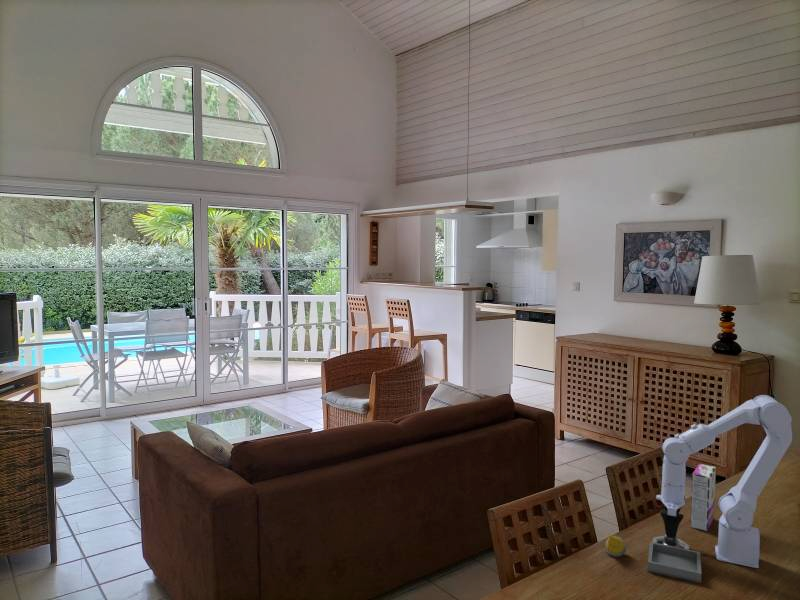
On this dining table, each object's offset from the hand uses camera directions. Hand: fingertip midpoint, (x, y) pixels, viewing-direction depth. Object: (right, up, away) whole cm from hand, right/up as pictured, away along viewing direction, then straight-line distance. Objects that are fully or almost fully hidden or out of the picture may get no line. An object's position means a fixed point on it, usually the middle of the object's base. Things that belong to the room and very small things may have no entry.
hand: (670, 531), depth 157 cm
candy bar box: (+17, -4, +16) cm, 23 cm away
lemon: (-17, -5, -5) cm, 18 cm away
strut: (0, -5, 0) cm, 5 cm away
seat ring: (0, -5, 0) cm, 5 cm away
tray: (-4, -5, -10) cm, 12 cm away
